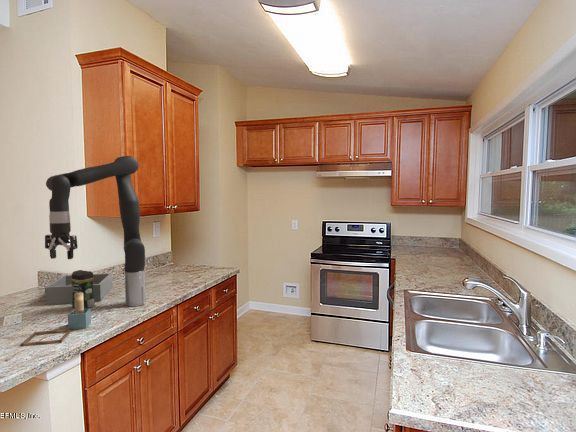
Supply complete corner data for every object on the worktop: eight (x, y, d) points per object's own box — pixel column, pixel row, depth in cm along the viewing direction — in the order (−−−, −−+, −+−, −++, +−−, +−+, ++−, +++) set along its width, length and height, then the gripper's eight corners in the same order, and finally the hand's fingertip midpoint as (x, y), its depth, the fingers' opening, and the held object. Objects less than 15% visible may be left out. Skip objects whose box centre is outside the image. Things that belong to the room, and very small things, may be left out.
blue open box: (91, 324, 148) (90, 308, 148) (86, 330, 142) (85, 313, 141) (74, 325, 147) (73, 309, 146) (68, 331, 140) (67, 315, 140)
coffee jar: (69, 308, 168) (67, 271, 167) (84, 303, 175) (83, 268, 174) (82, 311, 164) (81, 273, 163) (97, 306, 171) (96, 269, 170)
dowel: (85, 324, 146) (84, 292, 145) (82, 327, 143) (81, 294, 142) (77, 324, 145) (75, 292, 144) (74, 327, 142) (73, 294, 141)
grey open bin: (112, 288, 204) (112, 273, 203) (100, 301, 179) (100, 284, 178) (64, 290, 197) (64, 275, 197) (45, 304, 173) (44, 287, 172)
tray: (71, 332, 139) (71, 329, 139) (61, 344, 128) (61, 340, 128) (35, 335, 136) (34, 332, 136) (21, 348, 125) (20, 343, 125)
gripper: (81, 221, 150) (82, 257, 151) (53, 220, 153) (55, 256, 154) (67, 222, 143) (68, 261, 144) (38, 222, 145) (40, 259, 147)
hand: (61, 258), depth 149 cm, fingers open, 8 cm apart
